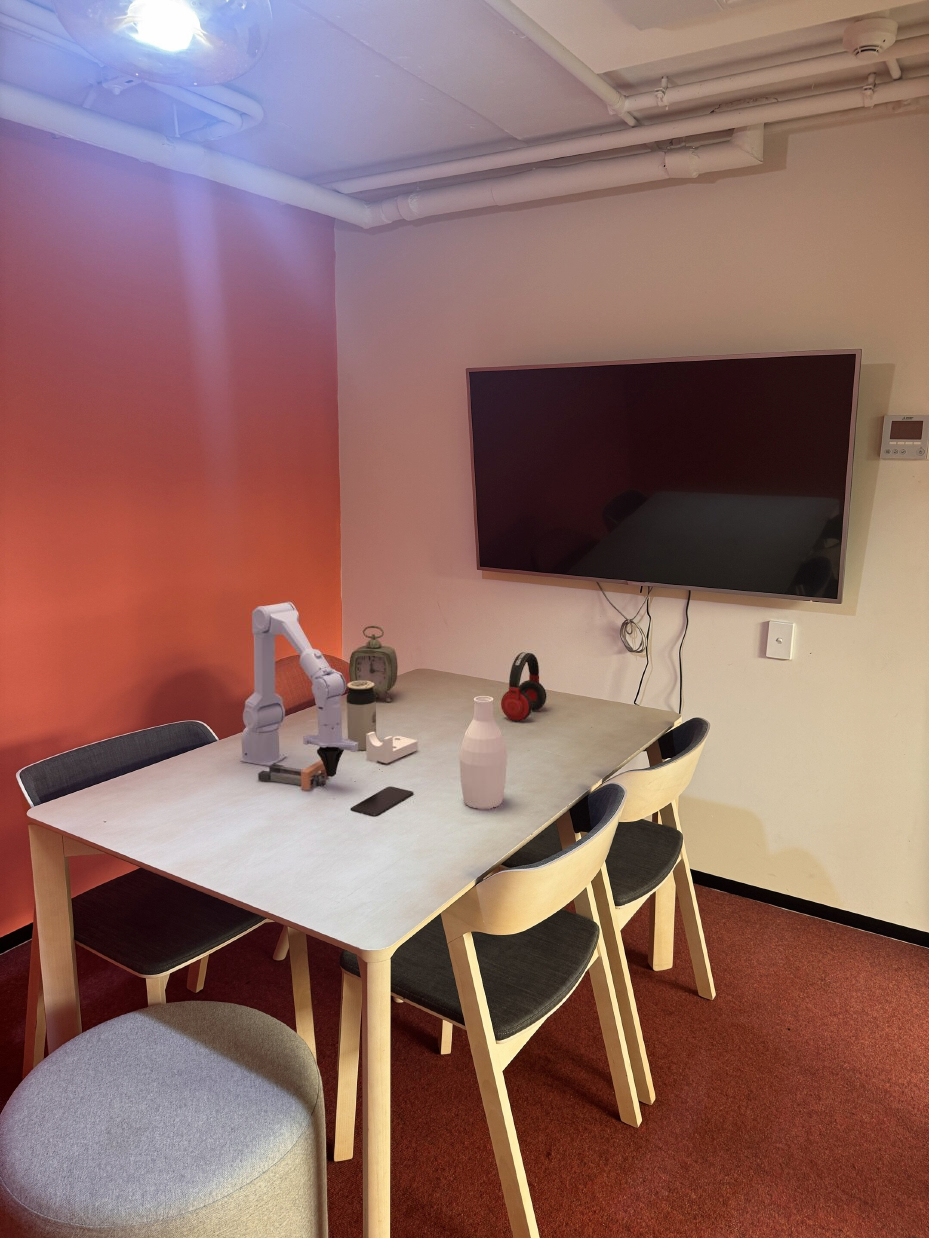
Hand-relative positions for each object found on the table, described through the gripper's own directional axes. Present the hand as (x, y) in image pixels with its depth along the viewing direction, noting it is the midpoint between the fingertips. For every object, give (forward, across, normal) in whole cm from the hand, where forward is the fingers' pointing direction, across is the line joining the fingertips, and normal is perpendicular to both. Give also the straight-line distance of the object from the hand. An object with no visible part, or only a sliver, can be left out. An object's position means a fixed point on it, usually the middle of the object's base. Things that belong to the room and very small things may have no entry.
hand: (331, 775), depth 214 cm
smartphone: (+4, +16, -3) cm, 17 cm away
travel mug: (+3, -8, +29) cm, 30 cm away
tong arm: (+3, -12, -3) cm, 12 cm away
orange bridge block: (+3, -5, 0) cm, 5 cm away
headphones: (+3, +24, +74) cm, 78 cm away
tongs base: (+3, -10, +1) cm, 11 cm away
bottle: (+3, +38, +6) cm, 39 cm away
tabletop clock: (+3, -27, +71) cm, 76 cm away
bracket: (+3, +3, +25) cm, 26 cm away
